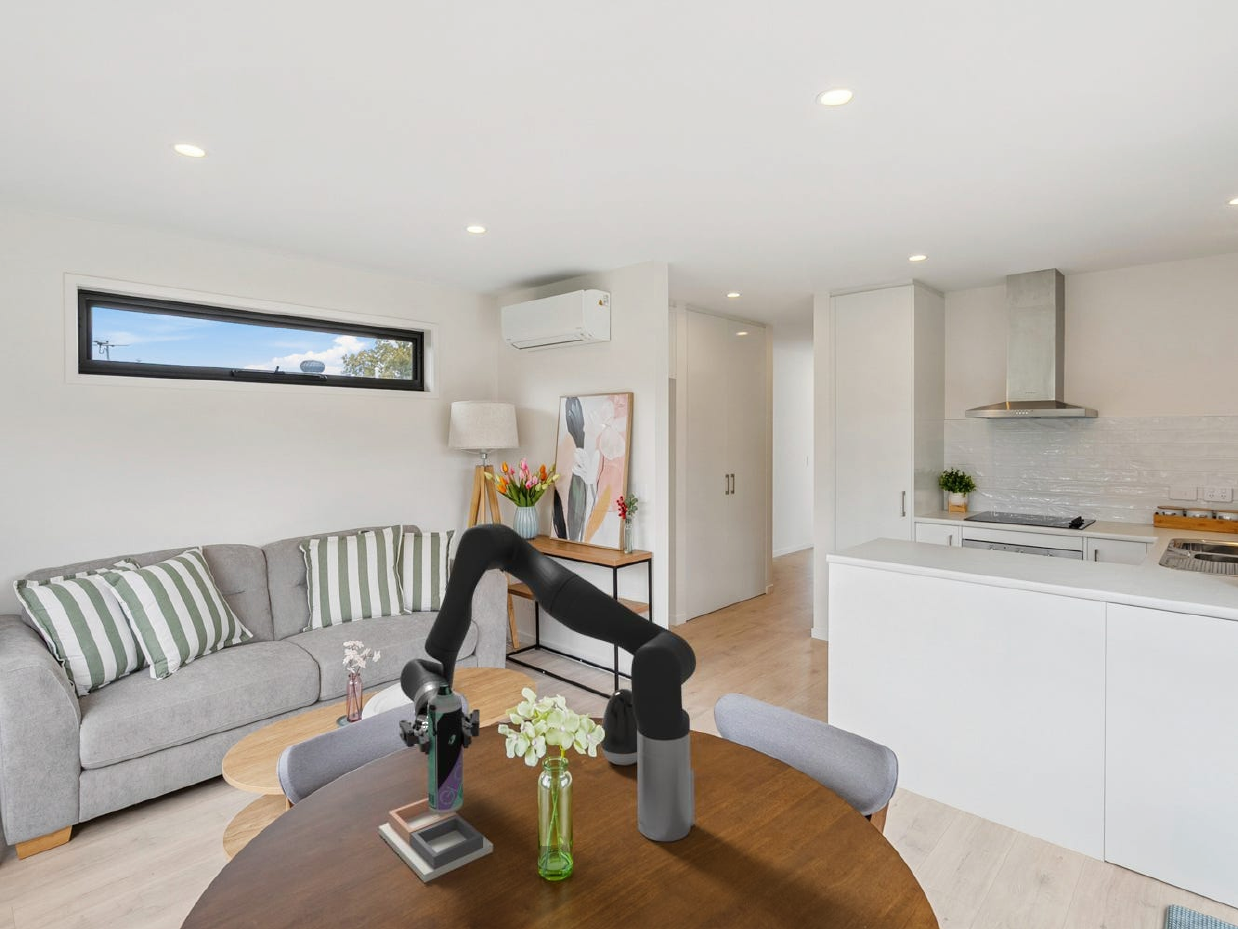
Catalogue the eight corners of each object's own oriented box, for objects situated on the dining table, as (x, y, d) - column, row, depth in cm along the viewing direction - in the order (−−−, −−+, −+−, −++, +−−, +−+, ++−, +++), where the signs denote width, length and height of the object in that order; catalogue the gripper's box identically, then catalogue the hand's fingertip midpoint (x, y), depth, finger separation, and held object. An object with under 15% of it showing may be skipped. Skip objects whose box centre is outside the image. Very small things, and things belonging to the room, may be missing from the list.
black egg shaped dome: (614, 776, 136) (613, 701, 136) (591, 756, 145) (591, 686, 145) (657, 764, 141) (656, 692, 141) (632, 745, 150) (631, 678, 150)
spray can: (453, 816, 107) (452, 692, 106) (422, 812, 108) (421, 689, 107) (468, 798, 112) (467, 680, 111) (438, 795, 113) (437, 678, 112)
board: (442, 808, 124) (442, 791, 124) (493, 851, 110) (492, 832, 110) (378, 833, 116) (378, 815, 116) (424, 882, 102) (424, 862, 102)
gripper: (394, 692, 120) (399, 729, 104) (475, 682, 125) (491, 715, 110) (395, 734, 120) (400, 777, 105) (475, 721, 126) (492, 761, 110)
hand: (447, 745), depth 107 cm, fingers closed on spray can, 5 cm apart
